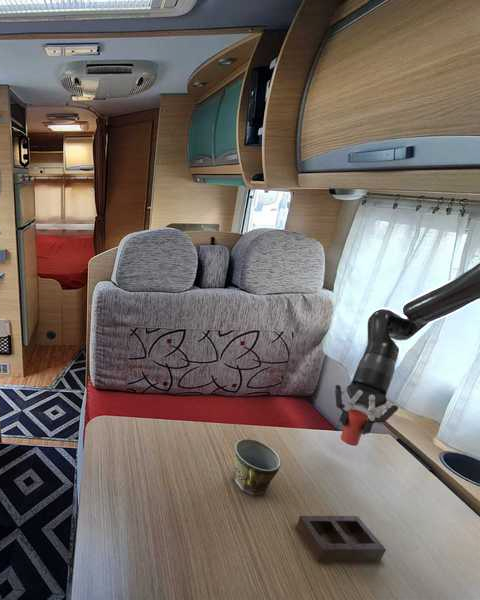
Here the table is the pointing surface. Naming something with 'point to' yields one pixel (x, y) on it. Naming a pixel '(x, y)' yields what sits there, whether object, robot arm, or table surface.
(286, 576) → the table surface
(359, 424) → the red cylinder
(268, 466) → the ceramic cup
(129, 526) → the table surface
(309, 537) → the two-compartment tray
